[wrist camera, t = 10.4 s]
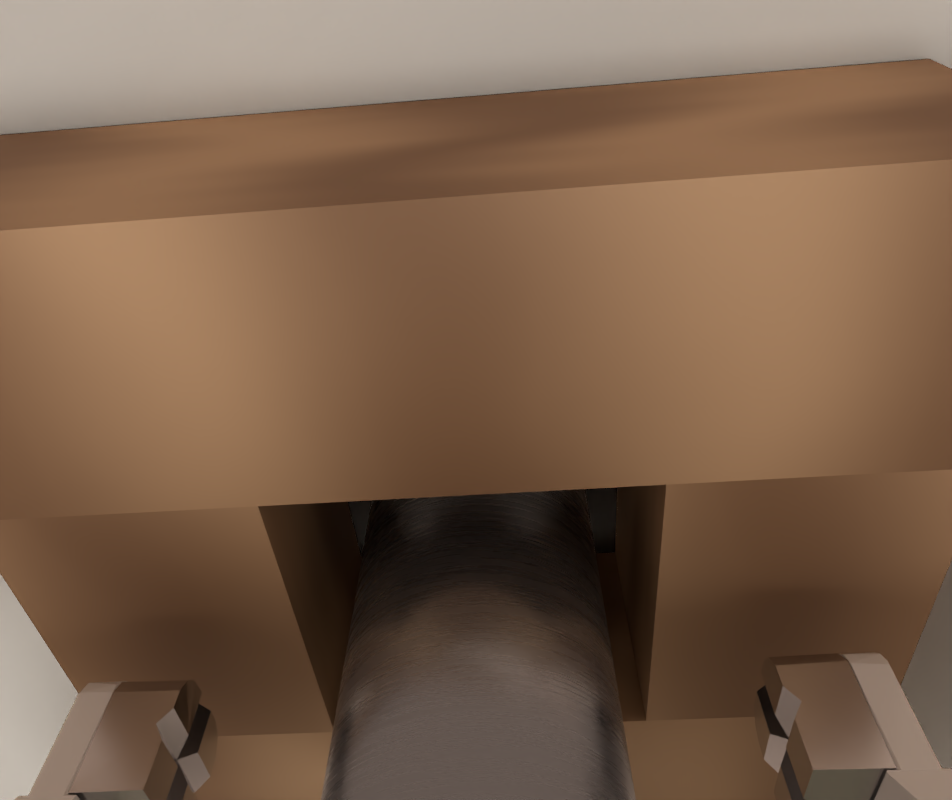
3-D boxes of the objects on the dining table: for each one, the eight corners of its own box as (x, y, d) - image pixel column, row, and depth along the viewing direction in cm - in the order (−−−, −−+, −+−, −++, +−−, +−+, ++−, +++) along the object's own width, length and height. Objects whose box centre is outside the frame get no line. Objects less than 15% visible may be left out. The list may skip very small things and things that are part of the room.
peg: (578, 375, 14) (711, 1086, 6) (580, 529, 16) (676, 1194, 8) (364, 389, 14) (209, 1095, 6) (395, 540, 17) (312, 1199, 8)
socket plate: (929, 58, 11) (1120, 147, 8) (780, 661, 19) (842, 828, 16) (-18, 136, 12) (-213, 245, 8) (229, 683, 20) (178, 847, 16)
